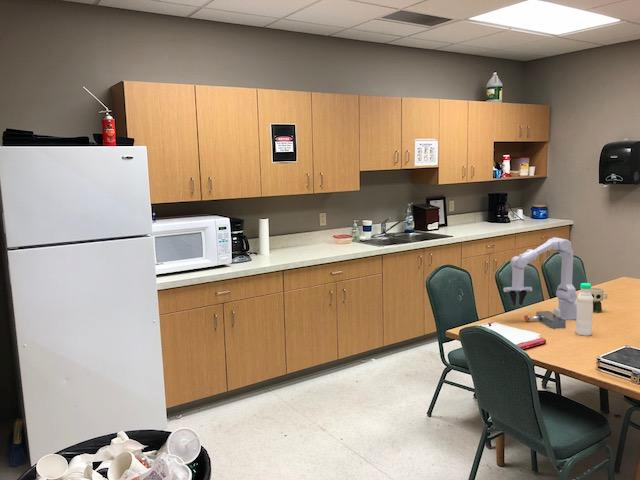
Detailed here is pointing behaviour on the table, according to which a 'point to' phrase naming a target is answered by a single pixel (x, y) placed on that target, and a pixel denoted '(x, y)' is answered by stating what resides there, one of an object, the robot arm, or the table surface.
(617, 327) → the table surface
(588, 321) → the water bottle
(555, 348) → the table surface
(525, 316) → the pin
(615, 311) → the table surface
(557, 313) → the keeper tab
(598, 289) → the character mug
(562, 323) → the block
